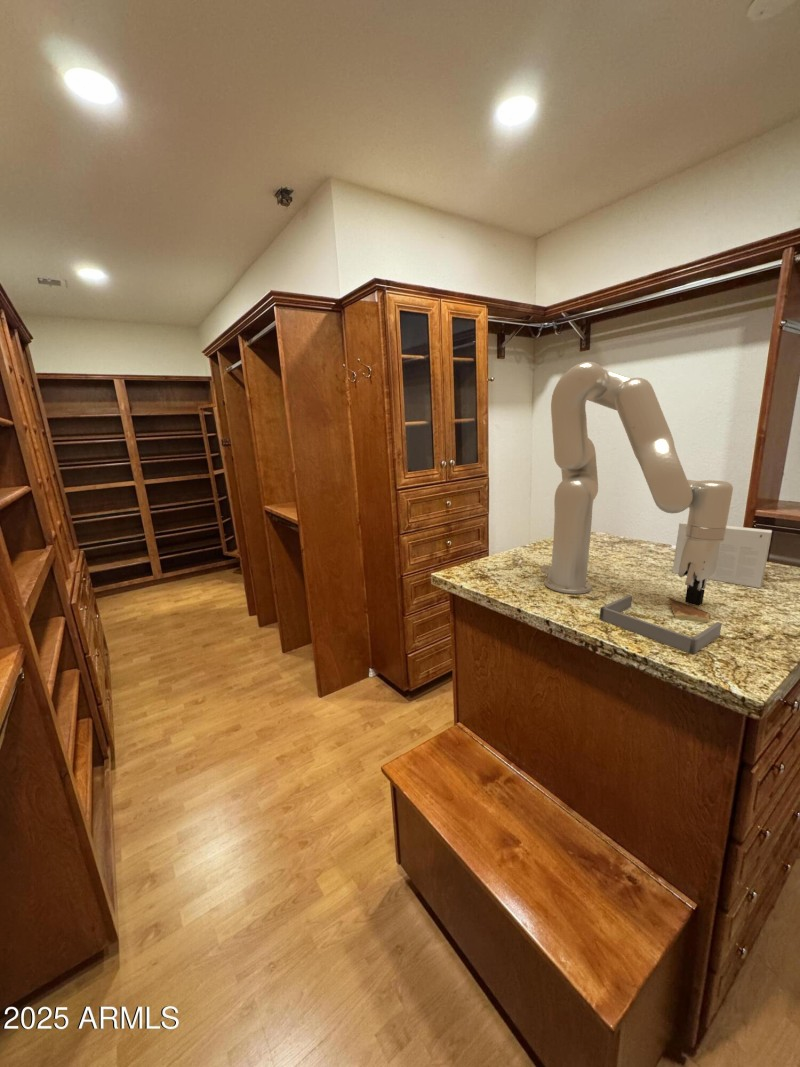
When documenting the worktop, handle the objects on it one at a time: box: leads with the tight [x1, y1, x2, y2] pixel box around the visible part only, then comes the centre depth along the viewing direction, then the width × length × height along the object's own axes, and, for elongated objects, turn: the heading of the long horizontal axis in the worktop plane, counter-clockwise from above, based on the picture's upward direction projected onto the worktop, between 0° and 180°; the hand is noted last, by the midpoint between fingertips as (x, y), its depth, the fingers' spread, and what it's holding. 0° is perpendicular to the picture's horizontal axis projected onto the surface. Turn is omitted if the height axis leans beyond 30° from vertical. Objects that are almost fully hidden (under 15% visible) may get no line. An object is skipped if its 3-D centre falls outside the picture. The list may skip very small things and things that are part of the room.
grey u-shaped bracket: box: [599, 594, 723, 655], centre depth 92 cm, size 20×13×3 cm, turn 34°
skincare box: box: [671, 520, 773, 589], centre depth 119 cm, size 21×5×16 cm, turn 47°
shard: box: [668, 597, 711, 624], centre depth 99 cm, size 11×8×2 cm
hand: (693, 603), depth 102 cm, fingers closed
